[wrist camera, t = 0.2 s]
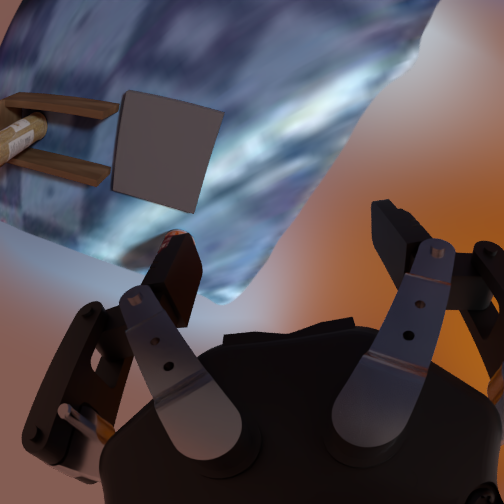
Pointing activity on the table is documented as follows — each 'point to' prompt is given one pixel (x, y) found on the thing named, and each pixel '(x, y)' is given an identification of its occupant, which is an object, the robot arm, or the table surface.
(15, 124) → the sprinkles bottle
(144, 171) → the rubber mat
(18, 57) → the table surface
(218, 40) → the table surface
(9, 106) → the shelf lane
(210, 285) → the table surface
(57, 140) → the table surface
